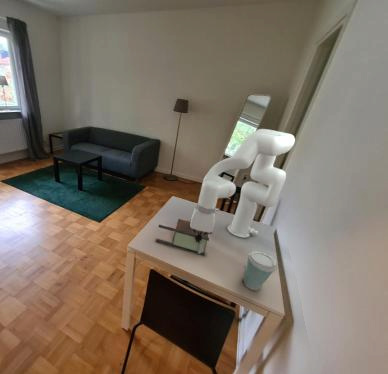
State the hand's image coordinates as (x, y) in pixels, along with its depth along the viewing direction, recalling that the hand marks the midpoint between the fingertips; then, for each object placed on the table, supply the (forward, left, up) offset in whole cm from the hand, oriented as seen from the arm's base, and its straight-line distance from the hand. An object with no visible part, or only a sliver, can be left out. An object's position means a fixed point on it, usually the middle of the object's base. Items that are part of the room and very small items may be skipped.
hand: (197, 240), depth 102 cm
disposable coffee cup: (-25, +8, -9) cm, 28 cm away
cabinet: (+8, -7, -9) cm, 14 cm away
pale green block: (+4, -1, -8) cm, 9 cm away
